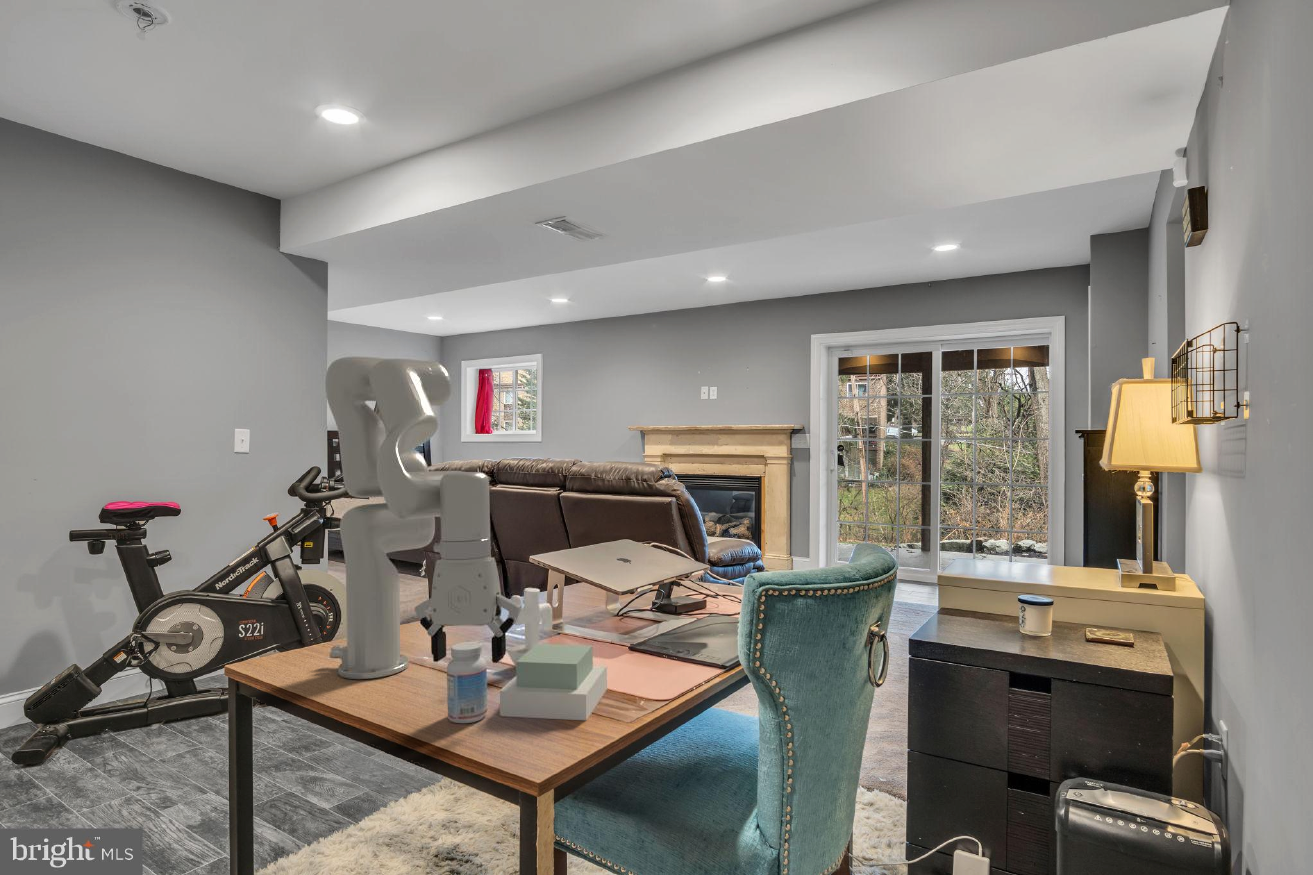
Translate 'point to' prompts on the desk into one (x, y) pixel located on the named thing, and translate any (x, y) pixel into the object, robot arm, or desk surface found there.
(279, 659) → the desk surface
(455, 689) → the pill bottle
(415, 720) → the desk surface
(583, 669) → the top block
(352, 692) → the desk surface
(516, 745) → the desk surface
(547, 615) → the figurine
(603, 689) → the base block
